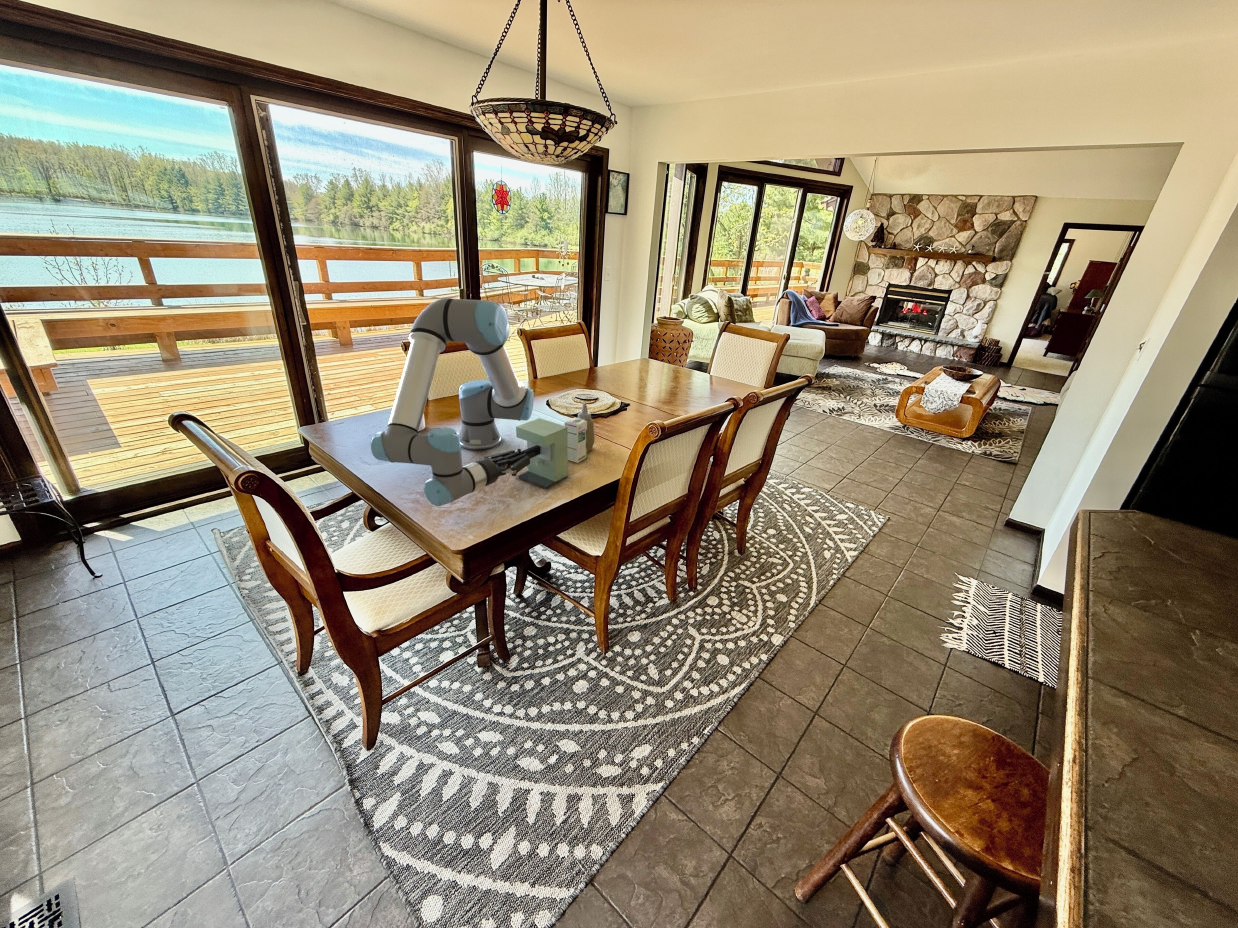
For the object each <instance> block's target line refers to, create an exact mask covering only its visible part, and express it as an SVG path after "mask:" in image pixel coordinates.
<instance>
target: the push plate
mask: <svg viewBox="0 0 1238 928" xmlns="http://www.w3.org/2000/svg"><path fill="white" fill-rule="evenodd" d="M536 445H537V444H534V443H532V442H529V448H531V447H533V446H536ZM538 446H540V445H538ZM537 457H539V458H542V459H545V460H548V461H551V445H549V446H546V447H543V446H540V454H539V455H537Z"/></svg>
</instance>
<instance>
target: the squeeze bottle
mask: <svg viewBox="0 0 1238 928" xmlns="http://www.w3.org/2000/svg"><path fill="white" fill-rule="evenodd" d="M577 418H581V419H584V420H587V453H589V452H591V451H592V449H593V447H594V444H595V442H596V440H595V427H594V419H593V418H592V413H591V411H589V410H588V405H587V403H586V402H583V403H582V406H581V410H580V411H578V413H577Z"/></svg>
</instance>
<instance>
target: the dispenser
mask: <svg viewBox="0 0 1238 928" xmlns="http://www.w3.org/2000/svg"><path fill="white" fill-rule="evenodd" d="M515 435H516V438H518V439H521V440H523V441H526V447H527V448H526V449H528V448H529V442H532V443H534V444H537V445H540V446H543V447H546V446H549V445H551V461H548V460H545V459H542V458H539V457H537V456H535V457H533V458H531V459H530V464H529V465H528V466H527V471H525V472H523V473H521V474H519V475H518V479H519V480H521V481H524V482H526V483H529V484H531V485H534V486H536V487H538V488H541V489H543V490H548V489H550V488H552V487H553V486H555V485H557V484H559V483H561V482H563V481H564V480H567V479H568V478H569V475H568V473H569V472H568V470H569V469H568V467H569V466H568V462H569V460H568V427H566V426H565V425H564V424H563V425H562V424H559V423H556V422H553V421H550V420H547V419H544V418H540V417H539V418H536V419H533V420H530V421H528V422H525V423H523V424H520V425H517V426H515Z"/></svg>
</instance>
